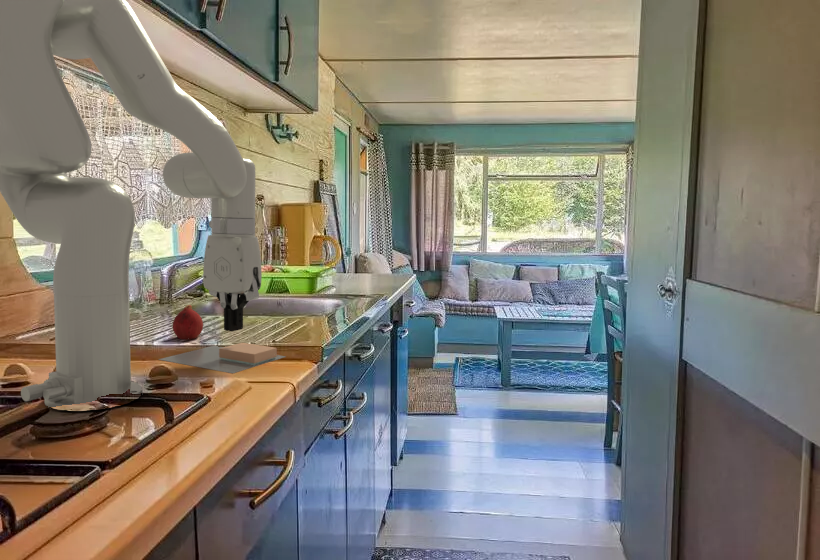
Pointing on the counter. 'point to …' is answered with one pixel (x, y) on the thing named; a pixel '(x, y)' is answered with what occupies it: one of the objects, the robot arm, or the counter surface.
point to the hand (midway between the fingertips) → (233, 329)
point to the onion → (187, 324)
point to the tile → (247, 353)
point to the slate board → (211, 360)
